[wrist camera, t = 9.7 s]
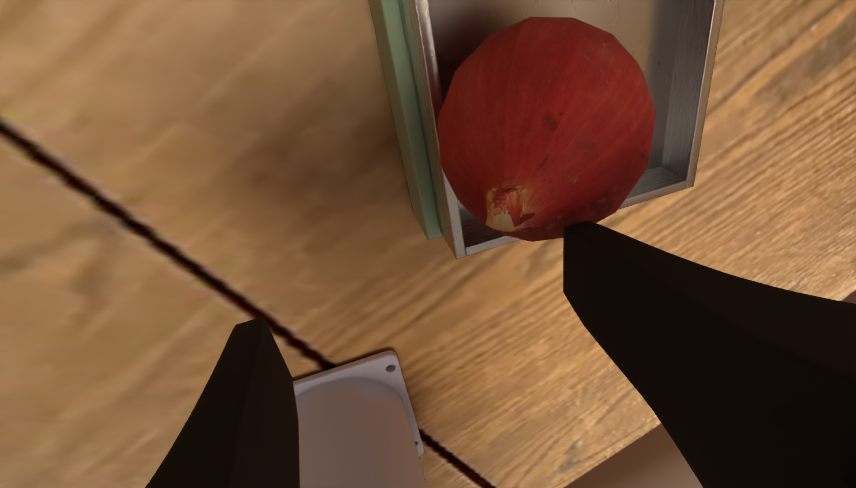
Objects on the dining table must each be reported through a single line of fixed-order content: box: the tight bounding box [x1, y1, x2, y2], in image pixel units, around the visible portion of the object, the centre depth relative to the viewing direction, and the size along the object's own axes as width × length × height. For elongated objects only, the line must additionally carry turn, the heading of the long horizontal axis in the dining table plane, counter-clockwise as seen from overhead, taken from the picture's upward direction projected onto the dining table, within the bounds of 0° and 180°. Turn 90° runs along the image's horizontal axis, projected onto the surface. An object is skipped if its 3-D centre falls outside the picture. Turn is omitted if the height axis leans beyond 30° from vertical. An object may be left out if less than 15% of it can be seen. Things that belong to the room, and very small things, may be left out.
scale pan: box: [399, 0, 725, 259], centre depth 17 cm, size 10×10×2 cm
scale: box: [369, 0, 443, 240], centre depth 19 cm, size 11×11×2 cm
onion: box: [438, 17, 656, 241], centre depth 14 cm, size 6×6×8 cm
